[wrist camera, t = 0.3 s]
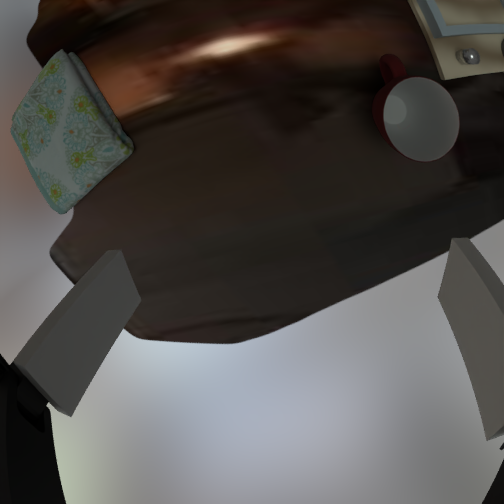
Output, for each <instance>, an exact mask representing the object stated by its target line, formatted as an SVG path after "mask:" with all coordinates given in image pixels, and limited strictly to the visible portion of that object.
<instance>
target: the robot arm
mask: <svg viewBox="0 0 504 504" xmlns="http://www.w3.org/2000/svg"><path fill="white" fill-rule="evenodd" d="M438 299H439V301H440V303H441V305H442V308H443V310H444V312H445V314H446V317H447V319H448V321H449V324H450V326H451V329H452V331H453V333H454V336H455V338H456V341H457V343H458V346H459V349H460V351H461V354H462V357H463V360H464V362H465V365H466V368H467V371H468V374H469V377H470V380H471V383H472V386H473V390H474V393H475V397H476V400H477V404H478V407H479V411H480V415H481V418H482V423H483V427H484V431H485V436H486V440H487V441H488V440H490V439H493V438H496V437H499V436H502V435H504V285H503V283H502V282H501V281H500V279H499V277H498V276H497V275H496V273H495V272H494V271H493V269H492V268H491V266H490V265H489V264H488V262H487V261H486V260H485V259H484V257H483V256H482V255H481V253H480V252H479V251H478V250H477V249H476V247H475V246H474V245H473V244H472V242H471V241H470V240H469V239H468V238H452V241H451V246H450V250H449V255H448V259H447V264H446V268H445V272H444V275H443V279H442V283H441V287H440V291H439V294H438ZM140 302H141V298H140V296H139V294H138V291H137V289H136V287H135V284H134V282H133V279H132V277H131V274H130V272H129V269H128V267H127V264H126V262H125V259H124V257H123V254H122V251H121V250H108V251H107V252H106V253H105V254H104V255H103V256H102V257H101V258H100V259H99V260H98V261H97V262H96V263H95V264H94V265H93V266H92V267H91V268H90V269H89V271H88V272H87V273H86V274H85V275H84V276H83V277H82V278H81V279H80V280H79V281H78V282H77V283H76V285H75V286H74V287H73V288H72V289H71V290H70V291H69V292H68V294H67V295H66V296H65V297H64V298H63V299H62V300H61V302H60V303H59V304H58V305H57V306H56V307H55V309H54V310H53V311H52V312H51V313H50V315H49V316H48V317H47V318H46V319H45V321H44V322H43V323H42V324H41V326H40V327H39V328H38V329H37V331H36V332H35V333H34V334H33V335H32V337H31V338H30V339H29V341H28V342H27V343H26V345H25V346H24V347H23V349H22V350H21V351H20V352H19V354H18V355H17V357H16V358H15V359H14V361H13V362H12V363H11V364H10V365H9V364H8V363H7V362H6V360H5V359H4V358H3V357H2V356H1V354H0V504H66V501H65V497H64V493H63V490H62V485H61V481H60V476H59V471H58V465H57V460H56V454H55V447H54V440H53V432H52V423H51V413H50V410H49V408H48V407H47V406H46V405H47V403H48V402H50V404H51V405H52V406H53V407H54V408H55V409H56V410H57V411H59V412H61V413H63V414H66V415H68V416H70V417H71V416H72V415H73V413H74V411H75V409H76V407H77V405H78V403H79V402H80V400H81V398H82V396H83V395H84V393H85V391H86V389H87V388H88V386H89V384H90V382H91V381H92V379H93V377H94V376H95V374H96V372H97V370H98V369H99V367H100V365H101V364H102V362H103V360H104V359H105V357H106V355H107V354H108V352H109V350H110V349H111V347H112V346H113V344H114V342H115V341H116V339H117V338H118V336H119V334H120V333H121V331H122V330H123V328H124V326H125V325H126V323H127V322H128V320H129V319H130V317H131V316H132V314H133V312H134V311H135V309H136V308H137V306H138V305H139V303H140ZM502 449H504V443H503V444H502V446H501V447H500V450H502ZM482 504H504V460H503V462H502V464H501V466H500V469H499V471H498V473H497V475H496V478H495V479H494V481H493V483H492V485H491V487H490V489H489V491H488V493H487V495H486V497H485V499H484V501H483V502H482Z"/></svg>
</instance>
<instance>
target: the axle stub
mask: <svg viewBox="0 0 504 504" xmlns="http://www.w3.org/2000/svg"><path fill="white" fill-rule="evenodd" d="M455 56H456V59H457V61H458V62H459V63H460V64H463V65H473V64H479V62H480V55H479V53H478V52H477V51H476V50H475V49H473V48H469V49H460V50H457V51H456V53H455Z"/></svg>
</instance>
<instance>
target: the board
mask: <svg viewBox="0 0 504 504" xmlns="http://www.w3.org/2000/svg"><path fill="white" fill-rule="evenodd" d="M407 1H408V2H409V4H410V6H411V8H412V10H413V12H414V14H415V16H416V18H417V20H418V23H419V25H420V27H421V29H422V31H423V34H424V36H425V38H426V41H427V43H428V45H429V48H430V50H431V53H432V56H433V58H434V61H435V64H436V66H437V69H438V72H439V75H440V78H441V80H447V79H453V78H459V77H465V76H471V75H478V74H485V73H494V72H503V71H504V56H503V54H502V50H501V43H502V40H503V39H504V34H477V35H462V36H452V37H443V38H435V39H434V37H433V35H432V33H431V30H430V28H429V26H428V24H427V22H426V19H425V17H424V15H423V13H422V11H421V9H420V7H419V5H418V3H417V1H416V0H407ZM435 2H436V4H437V6H438V8H439V10H440V12H441V14H442V17H443V19H444V21H445V23H446V25H447V26H452V25H467V24H504V8H503V6H502V4H501V2H500V0H435ZM469 48H473V49H475V50H476V51H477V52H478V53H479V55H480V62H479V64H473V65H463V64H460V63H459V62H458V61H457V59H456V56H455V53H456V51H457V50H460V49H469Z"/></svg>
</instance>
